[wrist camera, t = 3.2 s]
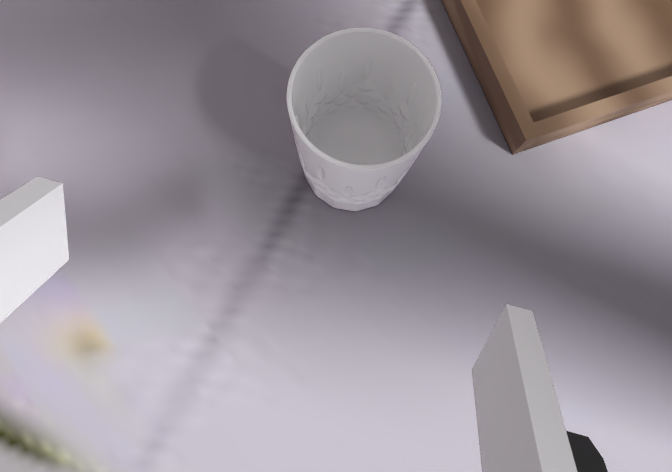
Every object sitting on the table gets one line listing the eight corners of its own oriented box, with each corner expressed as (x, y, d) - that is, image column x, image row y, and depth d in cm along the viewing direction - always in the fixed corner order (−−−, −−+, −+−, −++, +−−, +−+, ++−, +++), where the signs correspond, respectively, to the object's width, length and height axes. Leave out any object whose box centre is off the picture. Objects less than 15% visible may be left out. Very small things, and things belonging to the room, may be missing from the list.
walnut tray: (621, -111, 41) (640, -140, 39) (730, 79, 38) (759, 60, 35) (417, -52, 39) (424, -78, 37) (512, 154, 36) (526, 140, 34)
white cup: (355, 92, 37) (367, -1, 27) (431, 169, 36) (473, 101, 26) (272, 161, 35) (254, 89, 26) (349, 243, 34) (360, 201, 24)
